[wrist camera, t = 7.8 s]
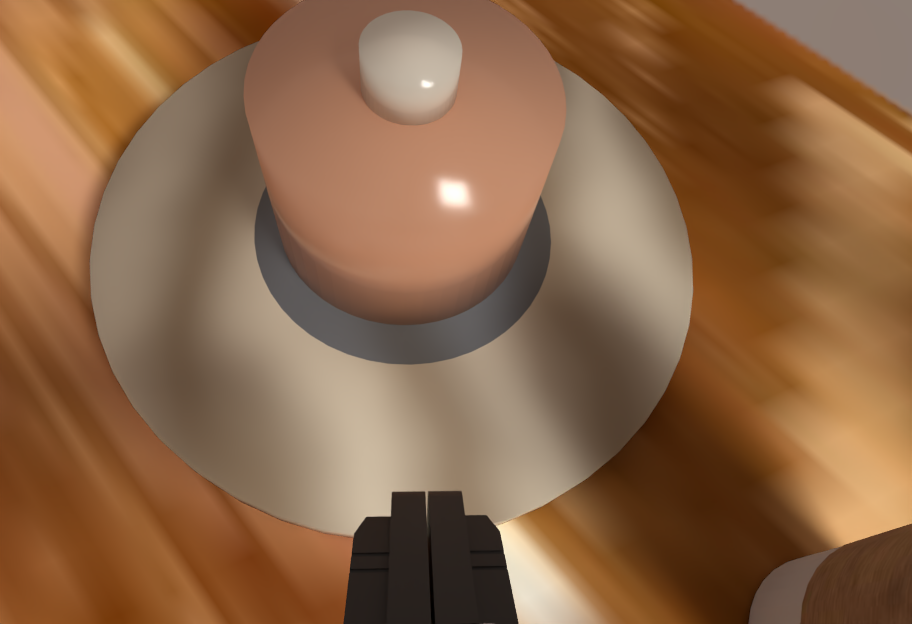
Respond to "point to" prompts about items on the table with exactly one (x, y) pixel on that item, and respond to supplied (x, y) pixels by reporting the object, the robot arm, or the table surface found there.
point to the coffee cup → (842, 585)
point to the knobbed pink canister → (403, 148)
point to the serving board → (385, 327)
